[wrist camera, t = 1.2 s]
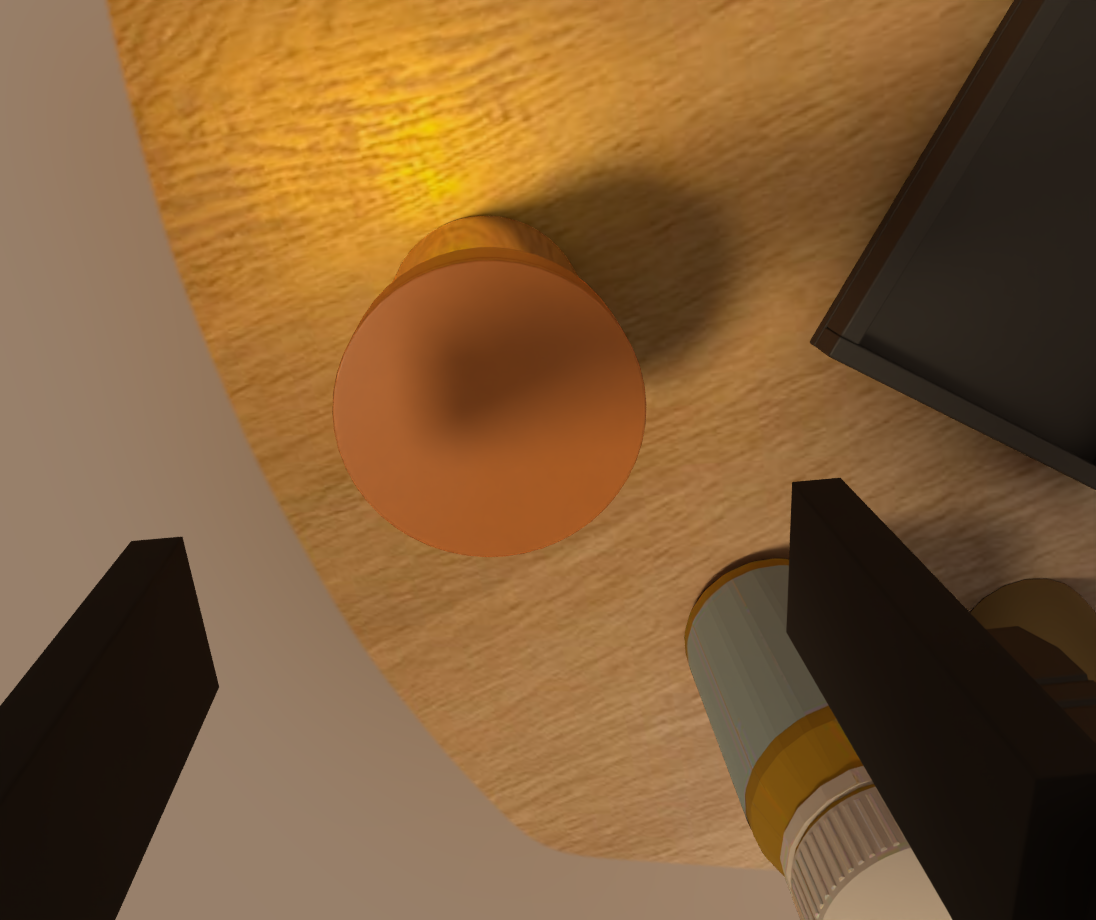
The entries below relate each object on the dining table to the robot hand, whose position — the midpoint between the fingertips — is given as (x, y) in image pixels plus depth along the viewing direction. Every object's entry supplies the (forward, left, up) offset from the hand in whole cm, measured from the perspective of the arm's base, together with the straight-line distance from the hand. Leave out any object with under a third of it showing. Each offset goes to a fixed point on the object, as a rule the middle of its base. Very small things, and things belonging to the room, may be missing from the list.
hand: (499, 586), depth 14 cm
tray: (+12, -18, -19) cm, 29 cm away
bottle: (-7, -16, -20) cm, 26 cm away
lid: (0, 0, -9) cm, 9 cm away
